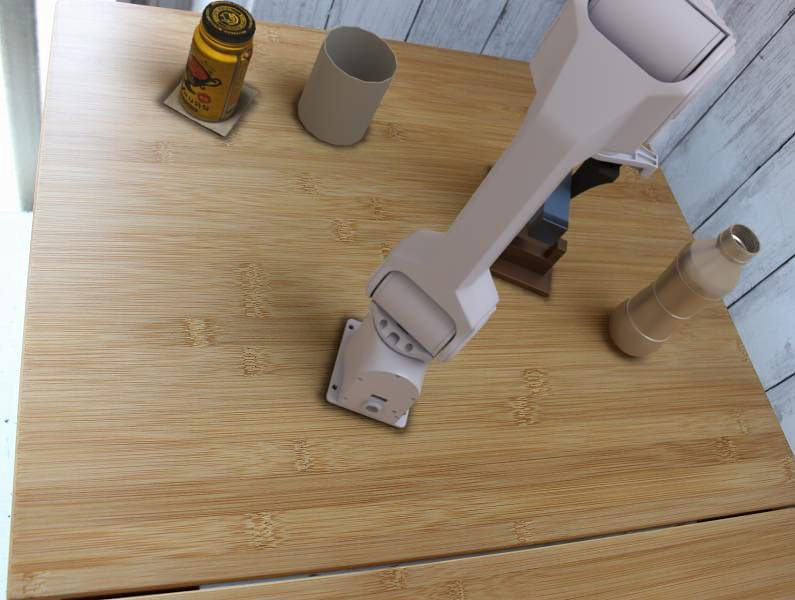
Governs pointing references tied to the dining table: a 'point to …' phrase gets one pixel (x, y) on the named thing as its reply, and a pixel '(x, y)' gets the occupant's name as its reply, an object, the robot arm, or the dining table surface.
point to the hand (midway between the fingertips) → (551, 188)
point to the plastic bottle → (682, 290)
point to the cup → (346, 85)
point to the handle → (552, 214)
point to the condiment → (217, 68)
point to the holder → (528, 262)
